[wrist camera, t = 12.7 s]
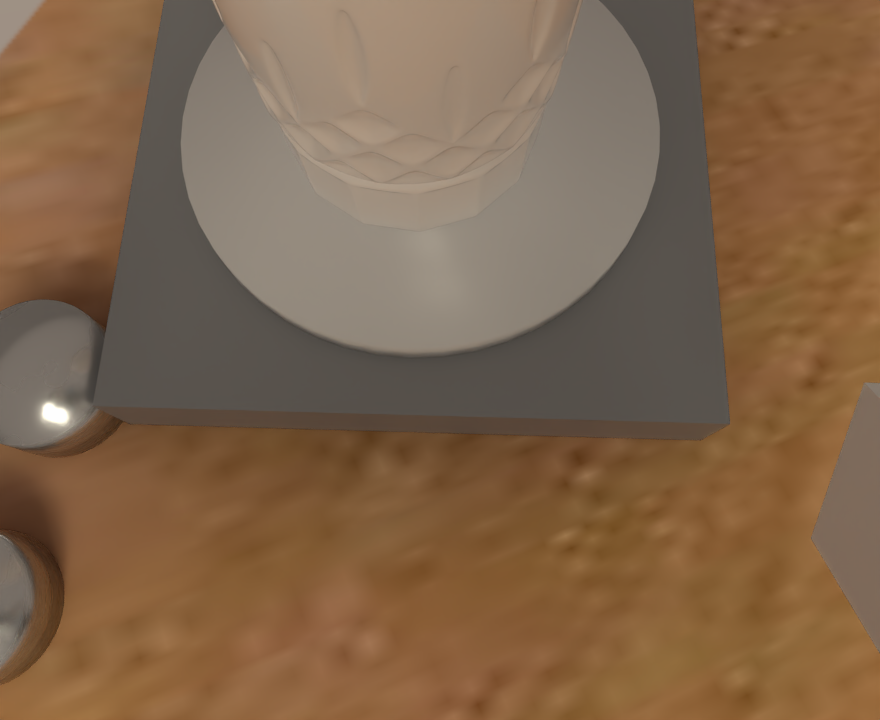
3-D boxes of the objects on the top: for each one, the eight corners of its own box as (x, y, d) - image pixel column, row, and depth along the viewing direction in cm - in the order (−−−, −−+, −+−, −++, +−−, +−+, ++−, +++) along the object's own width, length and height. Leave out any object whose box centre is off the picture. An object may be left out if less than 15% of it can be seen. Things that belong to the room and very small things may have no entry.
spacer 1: (148, 326, 21) (118, 301, 19) (126, 460, 20) (93, 448, 18) (15, 322, 21) (-27, 297, 20) (-14, 456, 20) (-62, 443, 18)
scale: (664, -38, 25) (693, -119, 22) (700, 440, 20) (742, 417, 17) (204, -44, 25) (172, -124, 22) (129, 424, 20) (76, 398, 17)
